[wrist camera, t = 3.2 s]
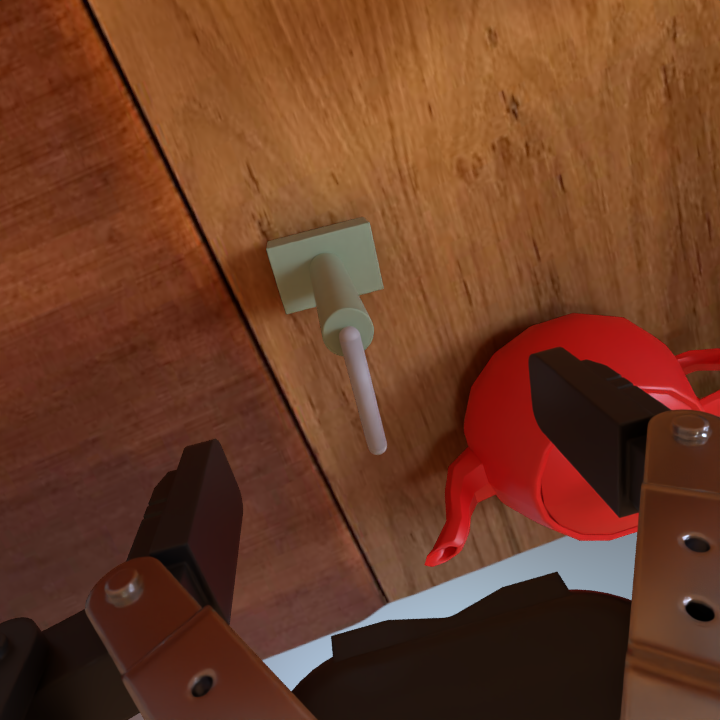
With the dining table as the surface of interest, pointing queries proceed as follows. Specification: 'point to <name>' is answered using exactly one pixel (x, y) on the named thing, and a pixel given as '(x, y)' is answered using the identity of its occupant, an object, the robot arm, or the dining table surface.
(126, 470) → the dining table surface
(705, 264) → the dining table surface
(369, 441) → the peg on square base
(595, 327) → the teapot
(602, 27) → the dining table surface
